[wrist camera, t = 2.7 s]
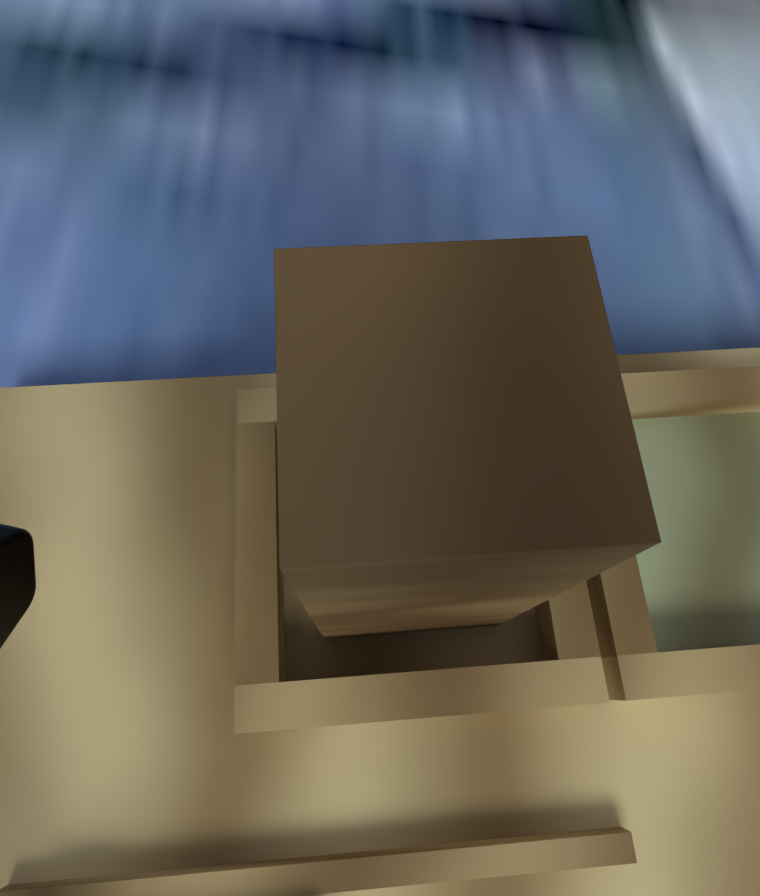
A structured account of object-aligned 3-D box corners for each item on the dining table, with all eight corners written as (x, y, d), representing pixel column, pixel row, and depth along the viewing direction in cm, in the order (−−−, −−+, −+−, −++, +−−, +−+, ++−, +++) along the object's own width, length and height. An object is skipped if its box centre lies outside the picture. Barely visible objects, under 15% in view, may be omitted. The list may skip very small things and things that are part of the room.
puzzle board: (-158, 1472, 12) (-317, 1709, 9) (5, 410, 20) (-53, 364, 17) (1130, 1289, 13) (1335, 1446, 10) (799, 367, 21) (866, 317, 18)
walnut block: (324, 638, 16) (279, 569, 7) (317, 471, 18) (273, 248, 9) (498, 624, 16) (660, 541, 7) (475, 462, 18) (587, 235, 9)
